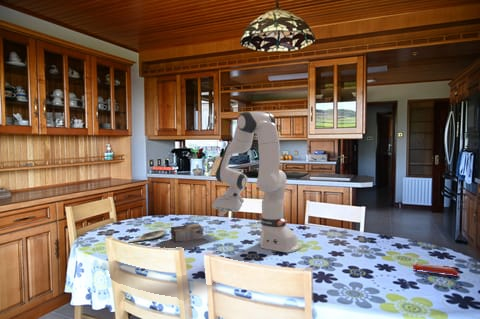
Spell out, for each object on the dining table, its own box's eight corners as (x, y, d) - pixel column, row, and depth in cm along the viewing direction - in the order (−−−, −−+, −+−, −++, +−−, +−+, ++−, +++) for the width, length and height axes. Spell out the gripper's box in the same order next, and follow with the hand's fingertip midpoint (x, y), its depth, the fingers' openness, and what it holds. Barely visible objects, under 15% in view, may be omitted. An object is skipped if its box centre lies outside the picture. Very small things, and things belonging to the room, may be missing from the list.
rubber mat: (210, 242, 171) (210, 241, 171) (176, 252, 155) (176, 252, 155) (188, 235, 183) (188, 234, 183) (155, 245, 167) (155, 244, 167)
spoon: (113, 255, 158) (113, 251, 157) (103, 250, 165) (103, 246, 164) (171, 234, 184) (171, 231, 184) (160, 231, 191) (160, 228, 191)
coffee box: (198, 234, 184) (170, 237, 178) (198, 223, 184) (170, 226, 177) (203, 238, 176) (174, 242, 169) (203, 227, 175) (174, 230, 169)
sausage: (413, 272, 131) (413, 264, 131) (412, 268, 135) (412, 261, 134) (459, 278, 125) (460, 271, 125) (457, 274, 128) (457, 267, 128)
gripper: (216, 192, 200) (205, 210, 193) (240, 194, 186) (229, 214, 180) (222, 198, 204) (211, 216, 197) (246, 201, 190) (235, 220, 183)
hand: (220, 215), depth 188 cm, fingers closed
